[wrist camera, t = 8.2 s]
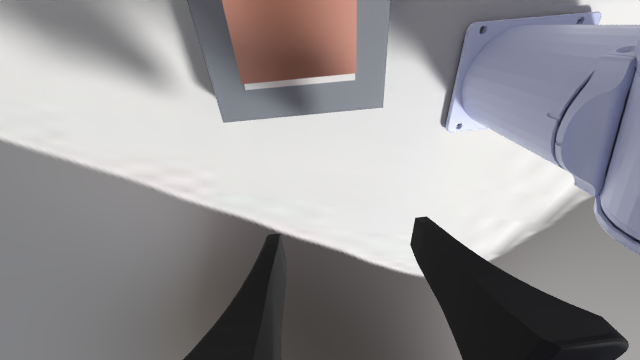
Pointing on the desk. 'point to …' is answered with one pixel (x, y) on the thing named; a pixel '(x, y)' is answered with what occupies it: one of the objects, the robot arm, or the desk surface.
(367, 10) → the grey square frame
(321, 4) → the salmon brown cube
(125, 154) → the desk surface
